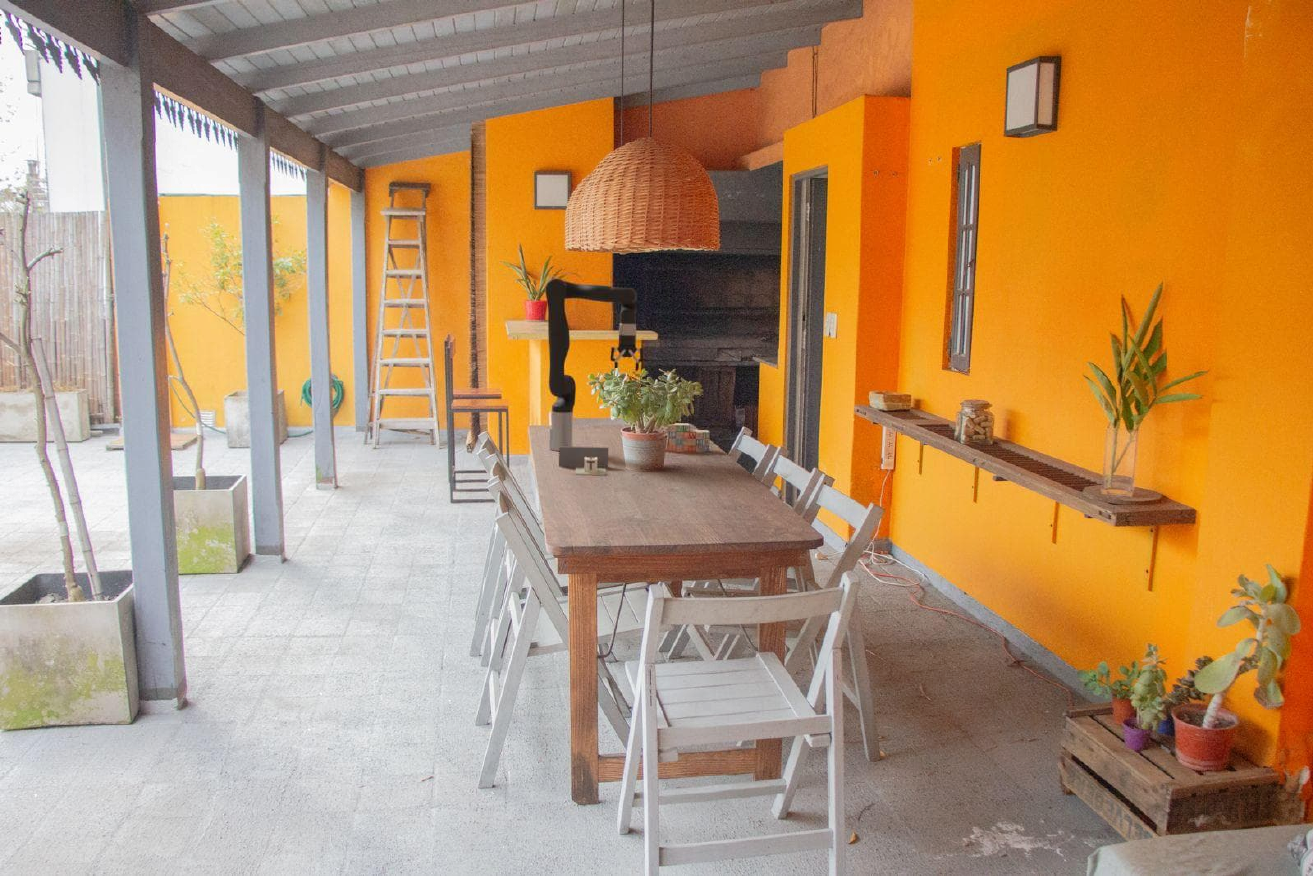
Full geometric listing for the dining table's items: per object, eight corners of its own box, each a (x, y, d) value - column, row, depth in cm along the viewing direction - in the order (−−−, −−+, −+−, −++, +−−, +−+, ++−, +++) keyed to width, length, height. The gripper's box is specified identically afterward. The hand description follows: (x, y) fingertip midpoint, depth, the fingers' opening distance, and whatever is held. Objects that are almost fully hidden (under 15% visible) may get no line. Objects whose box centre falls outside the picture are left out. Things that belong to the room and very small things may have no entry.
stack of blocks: (707, 450, 463) (708, 423, 461) (709, 452, 457) (710, 425, 455) (661, 449, 461) (661, 422, 459) (661, 451, 455) (662, 424, 453)
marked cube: (584, 471, 400) (584, 459, 399) (584, 469, 405) (584, 456, 404) (597, 472, 400) (597, 459, 399) (597, 469, 406) (597, 456, 405)
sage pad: (575, 474, 397) (575, 473, 397) (575, 468, 408) (575, 467, 408) (605, 475, 397) (605, 473, 397) (605, 469, 409) (605, 468, 409)
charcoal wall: (558, 466, 412) (559, 447, 411) (558, 465, 414) (559, 446, 413) (607, 467, 413) (608, 448, 412) (607, 466, 415) (608, 447, 414)
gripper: (643, 333, 446) (642, 370, 448) (611, 333, 445) (610, 369, 447) (644, 335, 438) (643, 372, 441) (611, 334, 437) (610, 371, 440)
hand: (626, 371), depth 444 cm, fingers open, 8 cm apart
